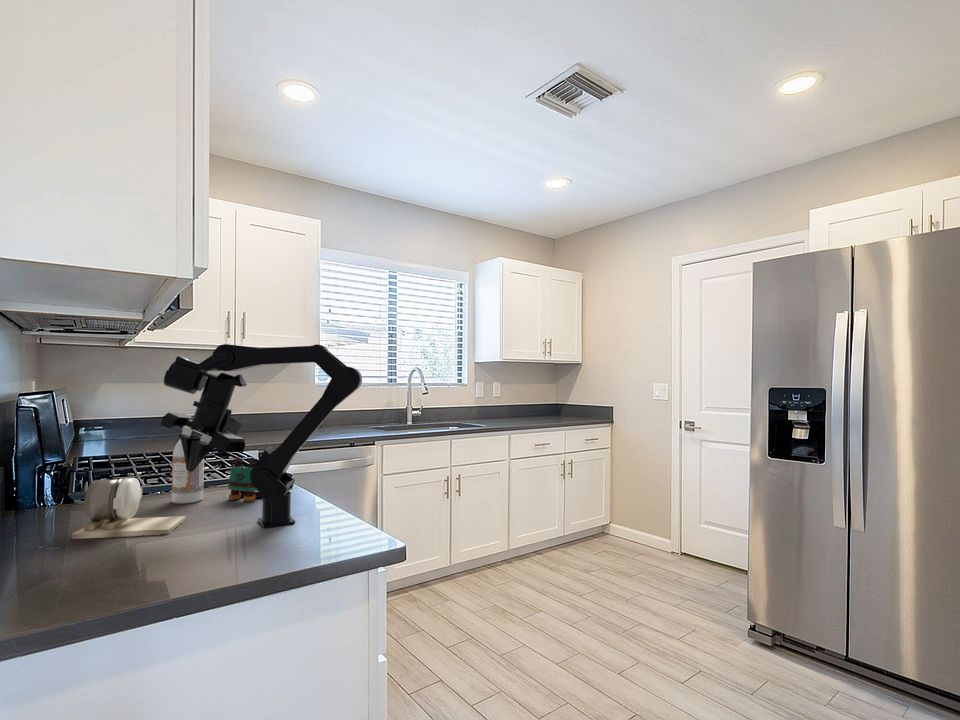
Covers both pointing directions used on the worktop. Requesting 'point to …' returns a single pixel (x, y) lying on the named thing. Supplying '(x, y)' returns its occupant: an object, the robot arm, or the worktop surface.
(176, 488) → the bath foam
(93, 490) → the cylinder
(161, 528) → the birch board
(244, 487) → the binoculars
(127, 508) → the white oval slab
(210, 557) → the worktop surface
